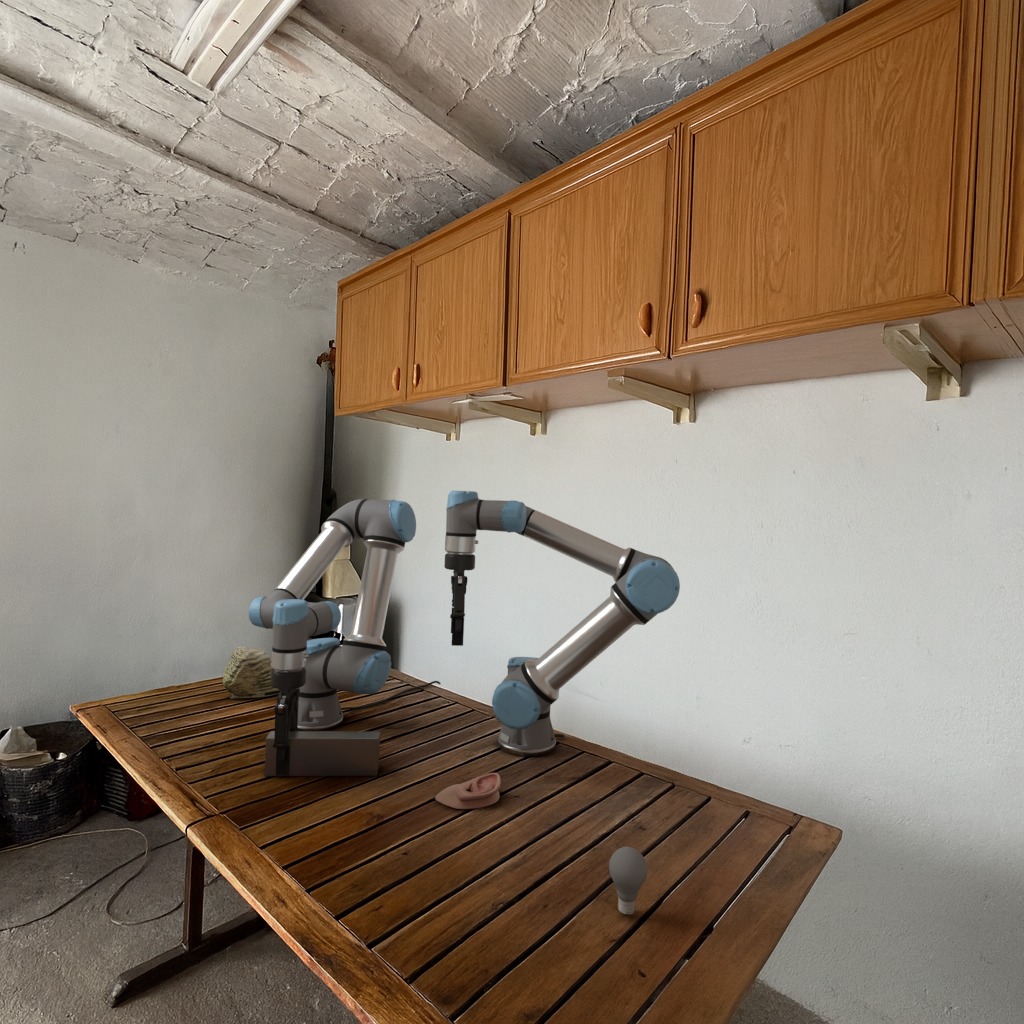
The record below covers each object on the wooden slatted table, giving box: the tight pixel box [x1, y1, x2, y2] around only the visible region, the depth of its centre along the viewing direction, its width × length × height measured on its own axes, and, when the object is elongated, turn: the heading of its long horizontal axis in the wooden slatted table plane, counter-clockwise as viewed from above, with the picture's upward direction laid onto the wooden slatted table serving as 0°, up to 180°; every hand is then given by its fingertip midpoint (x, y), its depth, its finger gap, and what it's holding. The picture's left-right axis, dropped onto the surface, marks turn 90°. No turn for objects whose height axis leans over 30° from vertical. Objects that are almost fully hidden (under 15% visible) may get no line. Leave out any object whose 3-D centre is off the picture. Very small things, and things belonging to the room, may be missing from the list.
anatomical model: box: [434, 772, 502, 810], centre depth 136 cm, size 13×4×12 cm
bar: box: [263, 730, 381, 777], centre depth 146 cm, size 25×4×9 cm, turn 96°
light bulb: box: [608, 846, 649, 915], centre depth 100 cm, size 6×6×10 cm
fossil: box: [222, 646, 280, 699], centre depth 198 cm, size 9×18×15 cm, turn 132°
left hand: (285, 769), depth 145 cm, fingers closed on bar, 4 cm apart
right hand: (456, 639), depth 157 cm, fingers open, 13 cm apart
